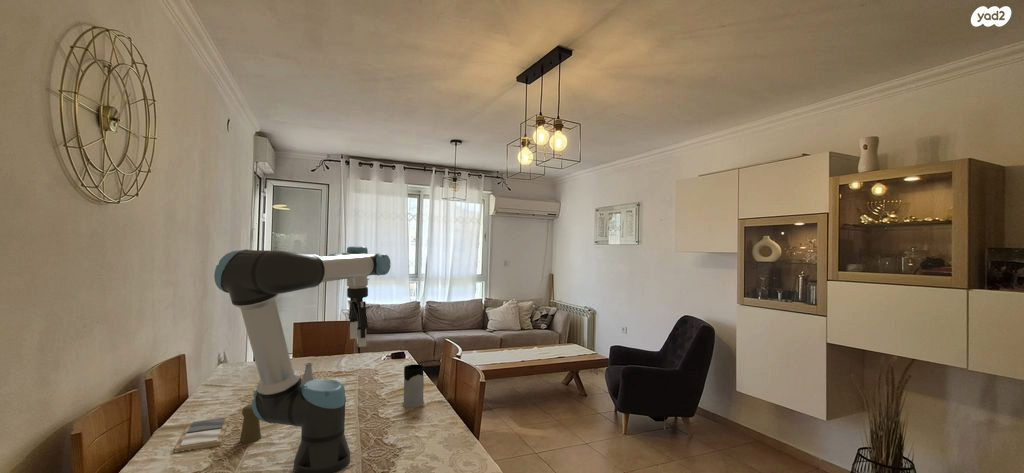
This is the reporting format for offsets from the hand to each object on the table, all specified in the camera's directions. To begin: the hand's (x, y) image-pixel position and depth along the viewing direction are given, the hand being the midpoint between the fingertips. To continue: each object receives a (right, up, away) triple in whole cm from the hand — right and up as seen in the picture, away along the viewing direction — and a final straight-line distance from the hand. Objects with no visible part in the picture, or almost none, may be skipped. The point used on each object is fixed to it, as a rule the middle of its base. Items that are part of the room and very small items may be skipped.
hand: (357, 342), depth 168 cm
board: (-44, -26, -21) cm, 55 cm away
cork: (-27, -26, -23) cm, 44 cm away
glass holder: (+17, -28, +13) cm, 35 cm away
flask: (-34, -28, +33) cm, 55 cm away
